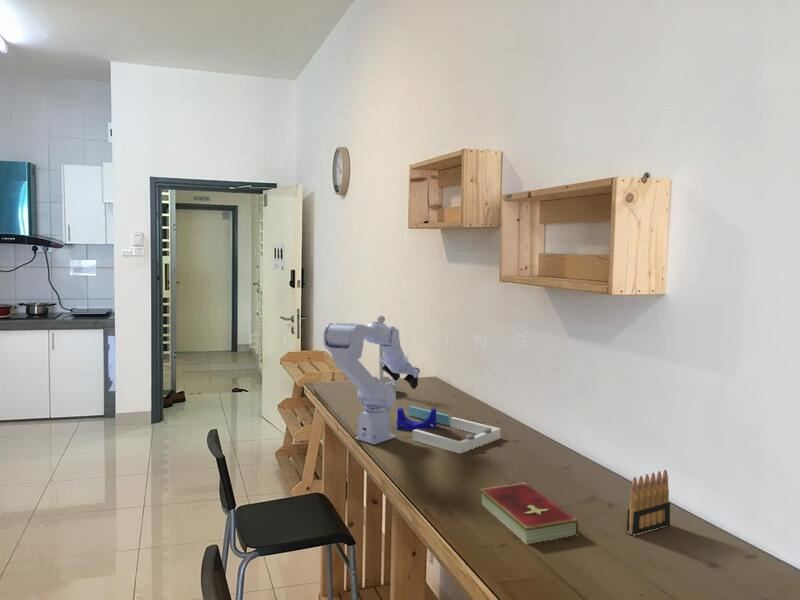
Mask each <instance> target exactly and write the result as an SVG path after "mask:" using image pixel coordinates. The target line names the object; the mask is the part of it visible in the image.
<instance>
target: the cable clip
mask: <svg viewBox="0 0 800 600" xmlns="http://www.w3.org/2000/svg"><path fill="white" fill-rule="evenodd" d="M430 411H431V413H430V415H429V417H428V418H427V419H423V420H421V421H420V420H419V421H415V420H411V419H409V418H408V417H407V415H406V414H405V410H404V407H397V412H396V413H397V414H396V415H397V418H396V430H397V431H398V430H399V431H413V430H415V429H417V428H420V429H419V430H436V429H437V423H436V412H437V408H436V407H431V409H430ZM417 430H418V429H417Z"/></svg>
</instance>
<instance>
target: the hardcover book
mask: <svg viewBox="0 0 800 600" xmlns="http://www.w3.org/2000/svg"><path fill="white" fill-rule="evenodd" d="M479 492H480V493H481V506H483V507H484V508H485V507H486V508H485V509H486V510H487V511H488V512H490V513H491V514H492V515H493V516H494V517H496V518H497V519H498V520H499V521H500V522H501V523H503V525H504V524H505V526H506V527H507V528H508V530H510V529H511V530H510V531H511V532H512V531H513V532H514V533H513V532H512V533H513V534H514V535H516V536H517V537H518V538H519V539H520V538H521V539H520V540H521V542H523V543H525V544H526V545H532V544H537V543H536V542H538V543H541V541H544V542H548V541H547V540H549V541H553V539H555V540H559V539H558V538H561V539H563V538H562V537H565V536H569V535H574V534H576V535H578V536H579V533H580V526H579V525H580V524H579V521H578V519H577V518H575V517H574V516H572V515H571V514H569V513H568V512H567V511H565V510H564V509H563V508H562V507H560V506H559V505H557V504H556V503H554V502H553V501H552V500H550V499H549V498H547V497H546V496H545V495H543V494H542V493H541V492H539V491H537V490H536V489H535V488H533V487H532V486H531V485H529V484H528V483H527V482H521V483H513V484H507V485H506V484H505V485H500V486H493V487H486V488H485V487H484V488H480V489H479ZM531 543H532V544H531Z"/></svg>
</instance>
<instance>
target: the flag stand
mask: <svg viewBox="0 0 800 600" xmlns="http://www.w3.org/2000/svg"><path fill="white" fill-rule="evenodd" d="M385 321H386V318H385V316H384V315H378V316H377V318H376V322H379V324H384V322H385ZM378 345H379V347H378V350H379V353H378V354H379V355H378V357H379V358H378V359H379V360H378V361H379V362H378V363H379V371H378V372H379V373H378V374H379V378H378V375H375V376H374V375H372V376H373V377H374V379H375V380H376V381H377V382H378V383H381V384H384V385H387V386H388V387H389V388H393V389H394V390H395V393H396V394H397V388H398V387H399V379H398V380H397V381H395V380H394V379H393V378H392V379H390V377H391V376H390V375H384V370H382V368H383V366H384V364H382V363H381V361H380V359H381V358H382V356H383V355H384V353H383V351H382V348H381V346H380V344H378Z"/></svg>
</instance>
